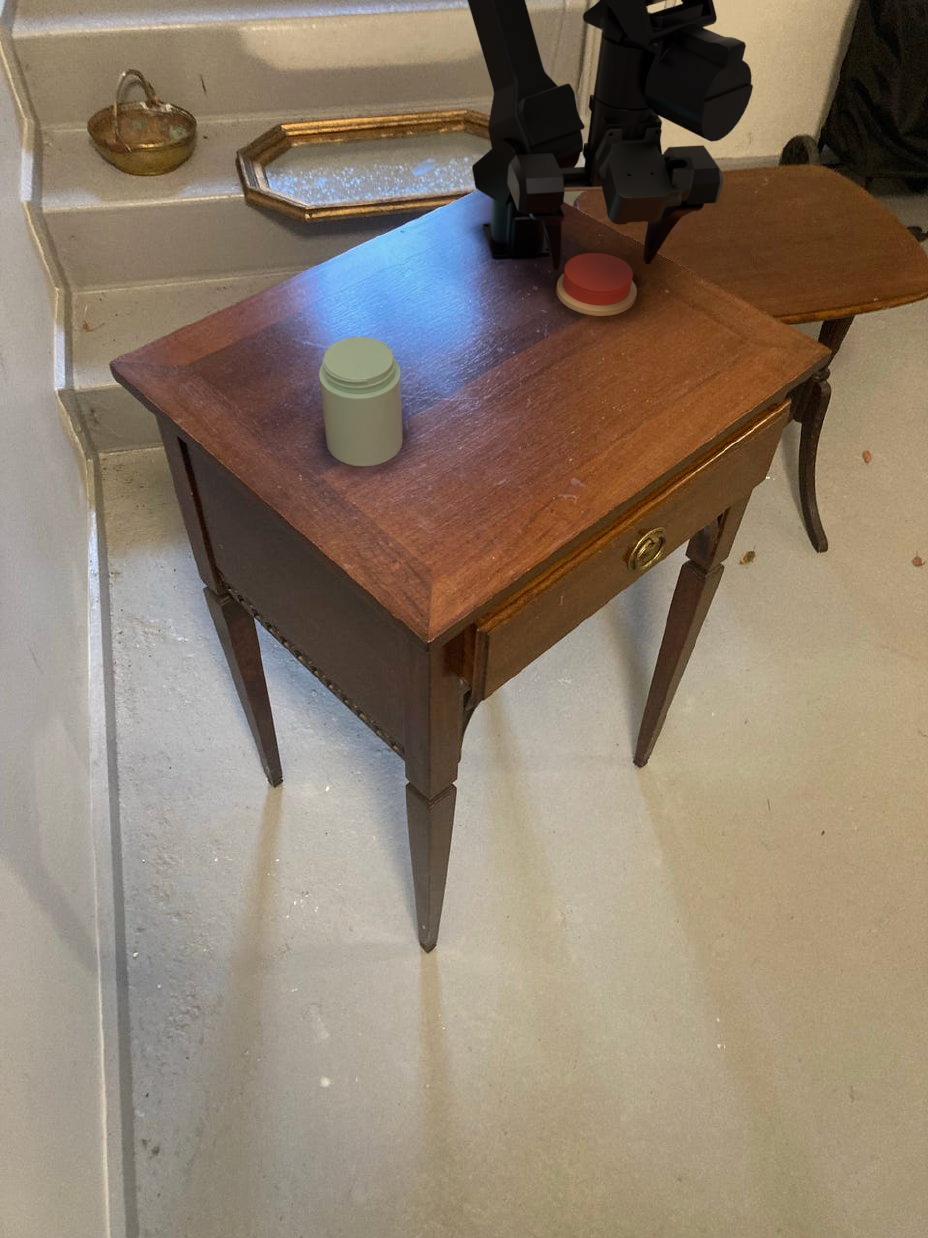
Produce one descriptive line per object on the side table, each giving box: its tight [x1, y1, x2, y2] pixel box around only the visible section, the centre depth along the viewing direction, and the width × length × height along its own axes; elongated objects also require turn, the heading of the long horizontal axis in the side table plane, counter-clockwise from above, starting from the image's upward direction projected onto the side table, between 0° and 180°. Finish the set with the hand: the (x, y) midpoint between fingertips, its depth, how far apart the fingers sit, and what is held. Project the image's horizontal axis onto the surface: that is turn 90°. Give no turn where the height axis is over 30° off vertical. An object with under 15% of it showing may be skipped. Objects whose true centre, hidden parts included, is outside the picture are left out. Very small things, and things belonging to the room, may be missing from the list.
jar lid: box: [563, 252, 634, 305], centre depth 92 cm, size 7×7×2 cm
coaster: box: [555, 273, 638, 317], centre depth 93 cm, size 8×8×1 cm
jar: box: [318, 336, 404, 467], centre depth 75 cm, size 6×6×8 cm
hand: (601, 265), depth 91 cm, fingers open, 9 cm apart
